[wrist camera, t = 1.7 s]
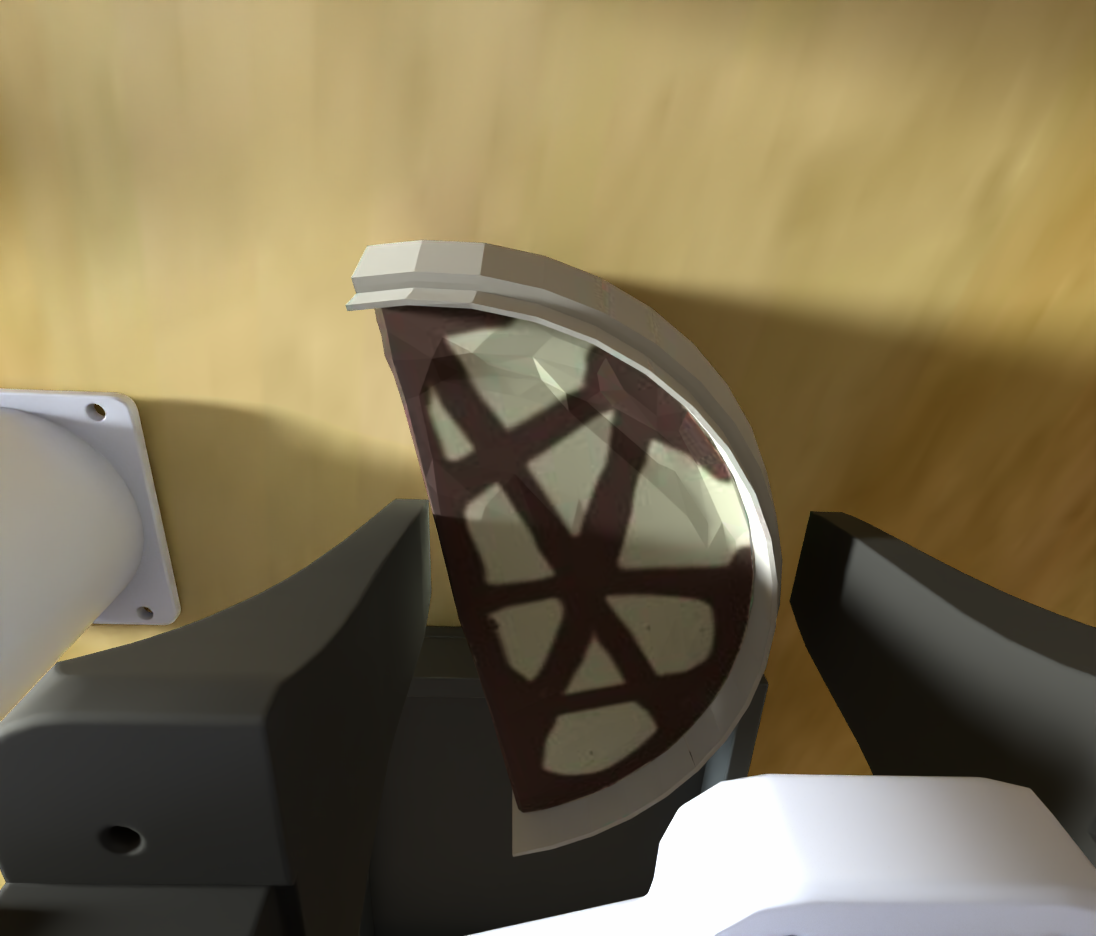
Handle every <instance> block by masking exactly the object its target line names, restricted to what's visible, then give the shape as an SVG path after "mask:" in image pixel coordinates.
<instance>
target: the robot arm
mask: <svg viewBox="0 0 1096 936" xmlns="http://www.w3.org/2000/svg"><path fill="white" fill-rule="evenodd" d="M94 404H97V405H100V406H101V407H102V408H103V409H104V411H105V416H102V415H100V414H99V413H97V412H96V410H95V408H94ZM430 598H431V561H430V529H429V500H420V499H395V500H393V501H392V502H391V503H389V504H388V505H387V506H386V507H384V508H383V509H382V510H381V511H380V512H378V513H377V514H376V515H375V516H374V517H372V518H371V519H370V520H369V521H368V522H366V523H365V524H364V525H363V526H361V527H360V528H359V529H358V530H356V531H355V532H354V533H353V534H351V535H350V536H349V537H348V538H346V539H345V540H344V541H342V542H341V543H340V544H338V545H337V546H335V547H334V548H333V549H331V550H330V551H328V552H327V553H325V554H324V555H323V556H321V557H320V558H318V559H317V560H315V561H314V562H312V563H311V564H310V565H308V566H307V567H305V568H304V569H302V570H300V571H299V572H297V573H296V574H294V575H292V576H291V577H289V578H287V579H285V580H284V581H282V582H280V583H278V584H276V585H275V586H273V587H271V588H269V589H267V590H265V591H264V592H262V593H260V594H258V595H256V596H254V597H251V598H249V599H247V600H245V601H243V602H240V603H238V604H236V605H234V606H231V607H229V608H227V609H225V610H222V611H220V612H218V613H216V614H213V615H211V616H209V617H206V618H204V619H201V620H199V621H196V622H193V623H191V624H188V625H185V626H183V627H180V628H177V629H174V630H171V631H168V632H165V633H162V634H159V635H156V636H153V637H150V638H147V639H144V640H141V641H137V642H134V643H131V644H127V645H123V646H119V647H116V648H112V649H108V650H104V651H100V652H96V653H93V654H89V655H85V656H81V657H77V658H74V659H69V660H65V661H60V662H57V663H56V664H55V662H56V661H57V660H58V659H59V658H60V657H61V656H62V655H63V654H64V653H65V652H66V651H67V650H68V649H69V647H70V646H71V645H72V644H73V643H74V642H75V641H76V640H77V639H78V638H79V637H80V636H81V635H82V634H83V633H84V631H85V630H86V629H87V628H88V627H89V626H90V625H91V624H136V625H168V624H171V623H173V622H174V621H175V620H176V619H177V617H178V616H179V614H180V613H181V606H180V601H179V597H178V592H177V587H176V583H175V578H174V574H173V569H172V564H171V560H170V555H169V550H168V546H167V541H166V537H165V532H164V527H163V523H162V518H161V514H160V509H159V504H158V500H157V495H156V490H155V486H154V481H153V477H152V472H151V467H150V463H149V458H148V453H147V449H146V444H145V440H144V435H143V430H142V426H141V421H140V416H139V412H138V408H137V406H136V404H135V402H134V401H133V400H132V399H131V398H130V397H128V396H126V395H125V394H121V393H117V392H89V391H60V390H31V389H3V388H0V721H1V720H2V719H3V718H4V717H5V716H6V715H7V716H6V717H5V718H4V719H3V720H2V721H1V722H0V870H1V872H2V875H3V877H4V879H5V882H6V883H5V885H4V886H3V887H2V889H1V890H0V936H358V933H359V927H360V921H361V914H362V908H363V902H364V896H365V890H366V884H367V878H368V871H369V866H370V860H371V854H372V848H373V843H374V837H375V831H376V826H377V820H378V814H379V809H380V803H381V798H382V793H383V787H384V782H385V777H386V771H387V766H388V761H389V757H390V753H391V749H392V745H393V741H394V737H395V733H396V730H397V727H398V723H399V720H400V717H401V714H402V710H403V707H404V704H405V700H406V697H407V694H408V690H409V687H410V684H411V681H412V677H413V674H414V671H415V667H416V664H417V660H418V657H419V654H420V650H421V647H422V643H423V640H424V636H425V630H426V624H427V618H428V612H429V605H430ZM790 604H791V607H792V610H793V613H794V616H795V619H796V622H797V625H798V628H799V630H800V633H801V635H802V638H803V641H804V643H805V646H806V648H807V650H808V652H809V654H810V656H811V658H812V659H813V661H814V663H815V665H816V667H817V669H818V671H819V673H820V674H821V676H822V678H823V680H824V682H825V684H826V686H827V687H828V689H829V691H830V693H831V695H832V697H833V698H834V700H835V702H836V704H837V706H838V707H839V709H840V711H841V713H842V715H843V717H844V718H845V720H846V722H847V724H848V726H849V728H850V729H851V731H852V733H853V735H854V737H855V739H856V740H857V742H858V744H859V746H860V748H861V750H862V752H863V754H864V756H865V758H866V760H867V762H868V764H869V766H870V769H871V771H872V773H873V775H818V774H762V775H756V776H750V777H744V778H739V779H733V780H727V781H721V782H719V783H718V784H716V785H714V786H713V787H711V788H709V789H708V790H706V791H705V792H703V793H701V794H700V795H698V796H696V797H695V798H693V799H692V800H690V801H688V802H687V803H685V804H684V805H683V806H681V807H680V808H679V809H678V811H677V813H676V814H675V816H674V818H673V820H672V821H671V823H670V825H669V827H668V829H667V830H666V832H665V834H664V836H663V838H662V839H661V841H660V845H659V851H658V857H657V863H656V869H655V875H654V879H653V882H652V885H651V887H650V890H649V893H648V894H647V895H645V896H643V897H638V898H634V899H629V900H625V901H620V902H616V903H611V904H607V905H602V906H598V907H593V908H589V909H584V910H580V911H575V912H570V913H566V914H561V915H557V916H552V917H548V918H543V919H539V920H534V921H530V922H525V923H521V924H516V925H512V926H507V927H502V928H498V929H493V930H489V931H484V932H480V933H475V934H471V935H466V936H1096V628H1095V627H1092V626H1089V625H1086V624H1083V623H1081V622H1078V621H1075V620H1072V619H1069V618H1067V617H1064V616H1061V615H1059V614H1056V613H1054V612H1051V611H1049V610H1046V609H1044V608H1041V607H1039V606H1036V605H1034V604H1031V603H1029V602H1026V601H1024V600H1021V599H1019V598H1016V597H1014V596H1012V595H1010V594H1007V593H1005V592H1003V591H1001V590H998V589H996V588H994V587H992V586H990V585H988V584H986V583H983V582H981V581H979V580H977V579H975V578H973V577H971V576H969V575H967V574H965V573H963V572H961V571H959V570H957V569H955V568H953V567H951V566H949V565H947V564H945V563H943V562H941V561H939V560H937V559H935V558H933V557H931V556H929V555H927V554H926V553H924V552H922V551H920V550H918V549H916V548H914V547H912V546H910V545H909V544H907V543H905V542H903V541H901V540H899V539H897V538H895V537H894V536H892V535H890V534H888V533H886V532H884V531H882V530H880V529H878V528H876V527H874V526H872V525H870V524H868V523H866V522H864V521H862V520H860V519H858V518H856V517H853V516H851V515H848V514H845V513H843V512H814V511H810V516H809V520H808V524H807V528H806V533H805V537H804V541H803V546H802V550H801V554H800V559H799V563H798V567H797V571H796V576H795V580H794V584H793V589H792V593H791V597H790ZM144 607H147V608H149V609H150V610H152V612H153V613H152V612H148V611H147V610H145V609H144ZM54 664H55V665H54ZM53 665H54V666H53ZM52 666H53V667H52ZM51 667H52V668H51ZM50 668H51V669H50ZM49 669H50V670H49ZM48 670H49V671H48ZM47 671H48V672H47ZM46 672H47V673H46ZM45 673H46V674H45ZM44 674H45V675H44ZM43 675H44V676H43ZM42 676H43V677H42ZM41 677H42V678H41ZM40 678H41V679H40ZM37 682H38V683H37ZM36 683H37V684H36ZM35 684H36V685H35ZM34 685H35V686H34ZM33 686H34V687H33ZM32 687H33V688H32ZM31 688H32V689H31ZM30 689H31V690H30ZM29 690H30V691H29ZM28 691H29V692H28ZM27 692H28V693H27ZM26 693H27V694H26ZM25 694H26V695H25ZM21 699H22V700H21ZM20 700H21V701H20ZM19 701H20V702H19ZM18 702H19V703H18ZM17 703H18V704H17ZM16 704H17V705H16ZM15 705H16V706H15ZM14 706H15V707H14ZM13 707H14V708H13ZM12 708H13V709H12ZM11 709H12V710H11Z"/></svg>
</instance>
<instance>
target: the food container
mask: <svg viewBox="0 0 1096 936" xmlns="http://www.w3.org/2000/svg"><path fill="white" fill-rule="evenodd" d="M351 278H352V282H353V285H354V288H355V291H356V294H355V295H354V297H353V298H352V299H351V300H350V301H349V302H348V303H347V304H346V308H347V311H353V310H363V309H373V308H375V314H376V319H377V323H378V326H379V329H380V332H381V336H382V342H383V348H384V354H385V357H386V360H387V362H388V364H389V366H390V368H391V370H392V373H393V375H394V378H395V381H396V384H397V387H398V390H399V393H400V397H401V400H402V403H403V406H404V410H405V414H406V417H407V421H408V424H409V428H410V432H411V435H412V439H413V443H414V446H415V450H416V454H417V457H418V461H419V465H420V468H421V472H422V476H423V479H424V483H425V487H426V491H427V494H428V498H429V502H430V506H431V509H432V513H433V517H434V521H435V524H436V528H437V532H438V536H439V540H440V544H441V548H442V552H443V556H444V560H445V564H446V569H447V573H448V577H449V581H450V585H451V589H452V593H453V597H454V601H455V605H456V609H457V613H458V617H459V620H460V623H461V626H462V629H463V632H464V635H465V638H466V641H467V643H468V646H469V649H470V652H471V655H472V658H473V661H474V664H475V666H476V670H477V673H478V676H479V679H480V682H481V685H482V689H483V692H484V695H485V698H486V701H487V705H488V708H489V711H490V714H491V718H492V721H493V725H494V728H495V732H496V735H497V739H498V742H499V746H500V749H501V753H502V756H503V759H504V763H505V766H506V770H507V773H508V777H509V780H510V783H511V787H512V855H513V857H515V856H520V855H525V854H530V853H535V852H540V851H545V850H551V849H554V848H557V847H561V846H564V845H567V844H570V843H573V842H576V841H579V840H582V839H586V838H589V837H592V836H594V835H597V834H599V833H601V832H603V831H605V830H608V829H610V828H612V827H614V826H616V825H618V824H621V823H623V822H625V821H627V820H629V819H632V818H633V817H635V816H636V815H638V814H640V813H641V812H643V811H645V810H646V809H648V808H649V807H651V806H653V805H654V804H656V803H657V802H659V801H661V800H662V799H664V798H666V797H667V796H668V795H670V794H671V793H672V792H673V791H674V790H676V789H677V788H678V787H679V786H681V785H682V784H683V783H684V782H685V781H687V780H688V779H689V778H690V777H692V776H693V775H694V774H695V773H696V772H698V771H699V770H700V769H701V768H702V766H703V765H704V764H705V763H706V762H707V761H708V760H709V759H710V758H711V757H712V755H713V754H714V753H715V752H716V751H717V750H718V749H719V748H720V747H721V746H722V745H723V743H724V742H725V741H726V740H727V739H728V737H729V736H730V734H731V733H732V731H733V730H734V728H735V727H736V725H737V724H738V722H739V720H740V719H741V717H742V716H743V714H744V713H745V711H746V710H747V708H748V707H749V705H750V703H751V700H752V698H753V696H754V694H755V691H756V689H757V687H758V685H759V682H760V680H761V678H762V675H763V673H764V671H765V669H766V665H767V661H768V657H769V653H770V649H771V644H772V640H773V636H774V632H775V628H776V618H777V614H778V610H779V606H780V593H781V574H782V554H781V547H780V540H779V532H778V525H777V517H776V512H775V507H774V503H773V498H772V493H771V489H770V484H769V480H768V475H767V471H766V468H765V465H764V462H763V459H762V457H761V454H760V451H759V448H758V445H757V442H756V439H755V436H754V433H753V430H752V427H751V426H750V424H749V422H748V420H747V419H746V417H745V415H744V413H743V411H742V410H741V408H740V406H739V404H738V403H737V401H736V399H735V397H734V396H733V394H732V392H731V390H730V388H729V387H728V385H727V383H726V382H725V381H724V380H723V379H722V377H721V376H720V375H719V374H718V373H717V371H716V370H715V369H714V368H713V367H712V365H711V364H710V363H709V362H708V361H707V359H706V358H705V357H704V356H703V355H702V353H701V352H700V351H699V350H698V349H697V347H696V346H695V345H694V344H693V343H692V342H691V341H690V340H689V339H687V338H686V337H685V336H684V335H683V334H681V333H680V332H679V331H678V330H677V329H676V328H674V327H673V326H672V325H671V324H670V323H669V322H667V321H666V320H665V319H664V318H663V317H662V316H660V315H659V314H658V313H657V312H656V311H654V310H653V309H652V308H651V307H649V306H647V305H646V304H644V303H642V302H641V301H639V300H637V299H636V298H634V297H632V296H631V295H629V294H627V293H626V292H624V291H622V290H621V289H619V288H617V287H616V286H614V285H612V284H611V283H609V282H607V281H605V280H604V279H602V278H600V277H597V276H595V275H592V274H590V273H587V272H585V271H582V270H580V269H577V268H574V267H572V266H569V265H567V264H564V263H562V262H559V261H557V260H554V259H551V258H549V257H546V256H543V255H538V254H533V253H529V252H524V251H520V250H515V249H510V248H506V247H501V246H496V245H492V244H487V243H475V242H455V241H435V240H416V241H407V242H398V243H389V244H380V245H370V246H367V247H366V249H365V251H364V253H363V255H362V257H361V259H360V261H359V263H358V265H357V267H356V269H355V271H354V273H353V275H352V277H351Z"/></svg>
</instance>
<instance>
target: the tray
mask: <svg viewBox="0 0 1096 936" xmlns="http://www.w3.org/2000/svg"><path fill="white" fill-rule="evenodd" d="M767 689H768V682H767V680H766V678H765V675H764V673H763V675H762V678H761V680H760V682H759V685H758V687H757V689H756V691H755V694H754V696H753V698H752V700H751V703H750V705H749V707H748V708H747V710H746V711H745V713H744V714H743V716H742V717H741V719H740V720H739V722H738V724H737V725H736V727H735V728H734V730H733V731H732V733H731V734H730V736H729V737H728V739H727V740H726V741H725V742H724V743H723V745H722V746H721V747H720V748H719V749H718V750H717V751H716V752H715V753H714V754H713V755H712V757H711V758H710V759H709V760H708V761H707V762H706V763H705V764H704V765H703V766H702V768H701V769H700V770H699V771H698V772H696V773H695V774H694V775H693V776H692V777H690V778H689V779H688V780H687V781H685V782H684V783H683V784H682V785H681V786H679V787H678V788H677V789H676V790H674V791H673V792H672V793H671V794H670V795H668V796H667V797H666V798H664V799H662V800H661V801H659V802H657V803H656V804H654V805H653V806H651V807H649V808H648V809H646V810H645V811H643V812H641V813H640V814H638V815H636V816H635V817H633V818H632V819H629V820H627V821H625V822H623V823H621V824H618V825H616V826H614V827H612V828H610V829H608V830H605V831H603V832H601V833H599V834H597V835H594V836H592V837H589V838H586V839H582V840H579V841H576V842H573V843H570V844H567V845H564V846H561V847H557V848H554V849H551V850H545V851H540V852H535V853H530V854H525V855H520V856H515V857H513V855H512V787H511V783H510V780H509V777H508V773H507V770H506V766H505V763H504V759H503V756H502V753H501V749H500V746H499V742H498V739H497V735H496V732H495V728H494V725H493V721H492V718H491V714H490V711H489V708H488V705H487V701H486V698H485V695H484V692H483V689H482V685H481V682H480V679H479V676H478V673H477V670H476V666H475V664H474V661H473V658H472V655H471V652H470V649H469V646H468V643H467V641H466V638H465V635H464V632H463V629H462V627H437V626H426V630H425V636H424V640H423V643H422V647H421V650H420V654H419V657H418V660H417V664H416V667H415V671H414V674H413V677H412V681H411V684H410V687H409V690H408V694H407V697H406V700H405V704H404V707H403V710H402V714H401V717H400V720H399V723H398V727H397V730H396V733H395V737H394V741H393V745H392V749H391V753H390V757H389V761H388V766H387V771H386V777H385V782H384V787H383V793H382V798H381V803H380V809H379V814H378V820H377V826H376V831H375V837H374V843H373V848H372V854H371V860H370V866H369V871H368V878H367V884H366V890H365V896H364V902H363V908H362V914H361V921H360V927H359V933H358V936H466V935H471V934H475V933H480V932H484V931H489V930H493V929H498V928H502V927H507V926H512V925H516V924H521V923H525V922H530V921H534V920H539V919H543V918H548V917H552V916H557V915H561V914H566V913H570V912H575V911H580V910H584V909H589V908H593V907H598V906H602V905H607V904H611V903H616V902H620V901H625V900H629V899H634V898H638V897H643V896H645V895H647V894H648V893H649V890H650V887H651V885H652V882H653V879H654V875H655V869H656V863H657V857H658V851H659V845H660V841H661V839H662V838H663V836H664V834H665V832H666V830H667V829H668V827H669V825H670V823H671V821H672V820H673V818H674V816H675V814H676V813H677V811H678V809H679V808H680V807H681V806H683V805H684V804H685V803H687V802H688V801H690V800H692V799H693V798H695V797H696V796H698V795H700V794H701V793H703V792H705V791H706V790H708V789H709V788H711V787H713V786H714V785H716V784H718V783H719V782H721V781H727V780H733V779H739V778H744V777H747V776H748V771H749V767H750V763H751V758H752V754H753V750H754V745H755V741H756V737H757V732H758V728H759V724H760V719H761V715H762V711H763V706H764V702H765V698H766V693H767Z"/></svg>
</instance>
